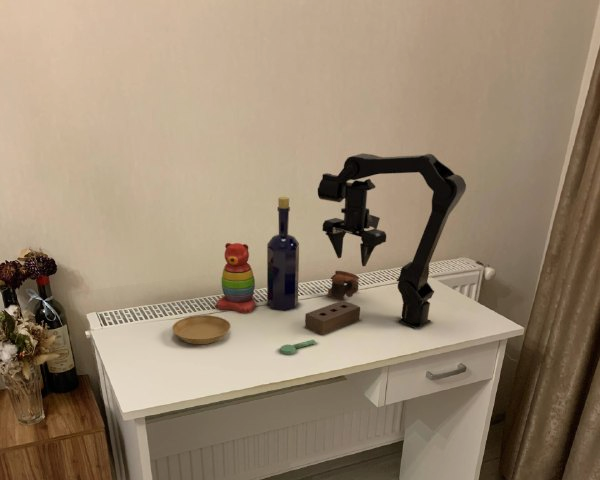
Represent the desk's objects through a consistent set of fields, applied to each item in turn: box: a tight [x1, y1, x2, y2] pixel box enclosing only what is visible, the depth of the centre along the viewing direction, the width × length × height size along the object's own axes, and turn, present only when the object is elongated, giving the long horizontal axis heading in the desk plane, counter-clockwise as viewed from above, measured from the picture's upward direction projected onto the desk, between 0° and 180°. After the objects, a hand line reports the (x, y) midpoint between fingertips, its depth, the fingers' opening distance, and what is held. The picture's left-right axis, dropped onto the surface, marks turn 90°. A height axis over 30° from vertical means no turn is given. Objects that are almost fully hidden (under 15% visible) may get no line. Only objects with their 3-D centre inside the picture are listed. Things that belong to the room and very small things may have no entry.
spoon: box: [280, 339, 316, 355], centre depth 152 cm, size 1×4×10 cm
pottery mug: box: [327, 270, 360, 301], centre depth 182 cm, size 12×10×8 cm
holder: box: [304, 299, 361, 336], centre depth 165 cm, size 6×15×4 cm, turn 134°
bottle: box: [266, 196, 300, 311], centre depth 169 cm, size 9×9×30 cm
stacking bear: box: [215, 242, 256, 314], centre depth 171 cm, size 11×10×18 cm
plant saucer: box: [171, 314, 232, 345], centre depth 157 cm, size 15×15×3 cm
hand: (351, 262), depth 170 cm, fingers open, 9 cm apart
